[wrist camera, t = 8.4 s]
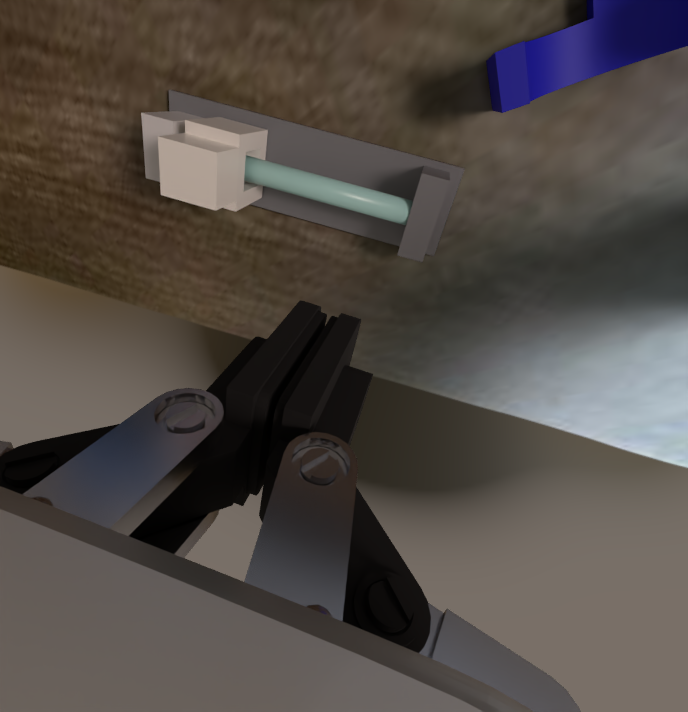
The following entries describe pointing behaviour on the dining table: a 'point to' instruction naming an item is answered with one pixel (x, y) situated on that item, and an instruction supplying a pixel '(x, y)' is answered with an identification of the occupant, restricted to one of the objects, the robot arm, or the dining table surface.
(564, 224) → the dining table surface
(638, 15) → the blue curved block
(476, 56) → the dining table surface
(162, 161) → the sleeve
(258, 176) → the threaded rod slide
